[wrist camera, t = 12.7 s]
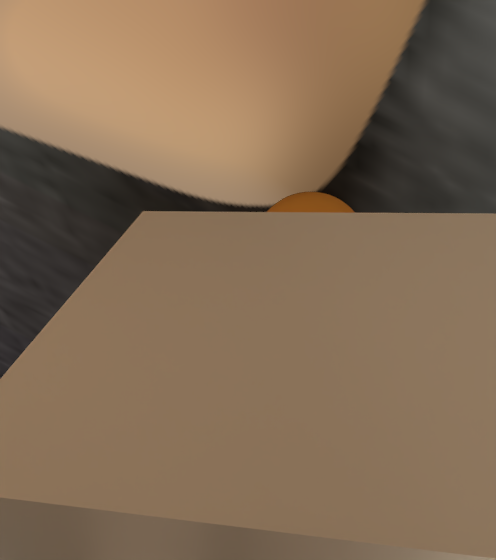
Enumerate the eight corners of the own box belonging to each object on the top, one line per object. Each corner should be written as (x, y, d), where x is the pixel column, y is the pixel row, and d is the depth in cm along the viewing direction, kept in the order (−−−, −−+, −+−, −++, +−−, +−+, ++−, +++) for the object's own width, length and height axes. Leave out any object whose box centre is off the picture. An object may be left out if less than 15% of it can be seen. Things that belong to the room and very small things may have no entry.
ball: (373, 166, 17) (358, 236, 21) (253, 166, 17) (262, 234, 22) (379, 270, 14) (360, 325, 19) (240, 265, 15) (253, 319, 19)
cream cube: (425, 439, 13) (507, 766, 7) (188, 419, 14) (104, 688, 8) (496, 213, 8) (837, 601, 3) (142, 211, 9) (-91, 486, 4)
